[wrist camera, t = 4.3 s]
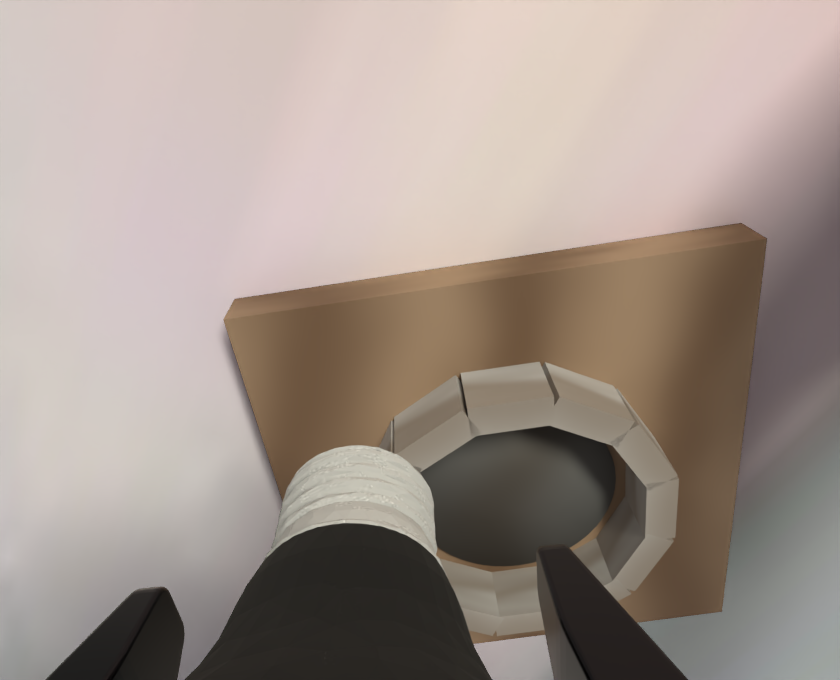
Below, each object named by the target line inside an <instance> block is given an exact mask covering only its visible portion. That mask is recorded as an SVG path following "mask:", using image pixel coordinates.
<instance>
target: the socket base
mask: <svg viewBox="0 0 840 680" xmlns="http://www.w3.org/2000/svg"><path fill="white" fill-rule="evenodd" d="M766 243H767V238H765V237H763V236H762V235H760V234H758V233H757V232H755V231H753V230H752V229H750V228H749V227H747V226H745V225H744V224H742V223H739V224H732V225H725V226H719V227H712V228H705V229H699V230H692V231H685V232H679V233H672V234H665V235H659V236H652V237H645V238H639V239H632V240H625V241H619V242H612V243H605V244H599V245H592V246H585V247H579V248H572V249H565V250H559V251H552V252H545V253H539V254H532V255H525V256H519V257H512V258H505V259H499V260H492V261H485V262H479V263H472V264H465V265H459V266H452V267H445V268H439V269H432V270H425V271H419V272H412V273H405V274H399V275H392V276H385V277H379V278H372V279H365V280H359V281H352V282H345V283H339V284H332V285H325V286H319V287H312V288H305V289H299V290H292V291H285V292H279V293H272V294H265V295H259V296H252V297H245V298H239V299H235V300H234V301H233V303H232V305H231V307H230V309H229V310H228V312H227V314H226V316H225V318H224V323H225V326H226V329H227V332H228V335H229V338H230V341H231V344H232V347H233V351H234V354H235V357H236V360H237V363H238V366H239V369H240V372H241V375H242V378H243V381H244V384H245V387H246V390H247V393H248V397H249V400H250V403H251V406H252V409H253V412H254V415H255V418H256V421H257V424H258V427H259V430H260V433H261V436H262V440H263V443H264V446H265V449H266V452H267V455H268V458H269V461H270V464H271V467H272V470H273V473H274V476H275V479H276V482H277V486H278V489H279V492H280V495H281V498H282V501H283V499H284V496H285V493H286V490H287V487H288V485H289V484H290V482H291V481H292V479H293V477H294V476H295V474H296V472H297V471H298V470H299V469H300V468H301V467H302V466H303V465H304V464H305V463H306V462H308V461H309V460H311V459H312V458H314V457H315V456H317V455H318V454H321V453H323V452H326V451H329V450H331V449H334V448H339V447H345V446H353V445H362V446H372V447H379V448H381V449H384V450H386V451H389V452H392V453H394V454H397V455H399V456H400V457H402V458H403V459H405V460H406V461H408V462H409V463H410V464H411V465H412V466H413V467H414V468H415V469H416V470H417V471H418V472H419V473H420V474H421V475H422V477H423V478H424V480H425V481H426V483H427V484H428V486H429V487H430V489H431V493H432V497H433V501H434V522H435V539H436V544H437V553H436V556H437V557H438V558H439V559H440V561H441V564H442V566H443V568H444V571H445V573H446V575H447V578H448V580H449V582H450V584H451V586H452V588H453V590H454V592H455V594H456V597H457V599H458V601H459V604H460V606H461V609H462V611H463V614H464V617H465V620H466V623H467V626H468V629H469V633H470V636H471V639H472V642H473V644H475V643H483V642H491V641H499V640H506V639H514V638H522V637H529V636H537V635H545V629H544V624H543V619H542V614H541V609H540V603H539V597H538V589H537V563H536V550H537V548H538V547H540V546H545V545H554V544H564V545H566V546H568V547H569V548H570V549H571V550H572V551H573V552H574V554H575V555H576V556H577V557H578V558H579V559H580V560H581V561H582V562H583V564H584V565H585V566H586V567H587V568H588V569H589V570H590V571H591V572H592V574H593V575H594V576H595V577H596V578H597V579H598V580H599V581H600V582H601V584H602V585H603V586H604V587H605V588H606V589H607V590H608V591H609V592H610V594H611V595H612V596H613V597H614V598H615V599H616V600H617V601H618V602H619V604H620V605H621V606H622V607H623V608H624V609H625V610H626V611H627V612H628V614H629V615H630V616H631V617H632V618H633V619H634V620H635V621H636V622H645V621H653V620H660V619H668V618H676V617H683V616H691V615H699V614H706V613H714V612H722V606H723V598H724V589H725V581H726V573H727V565H728V556H729V548H730V540H731V532H732V523H733V515H734V507H735V499H736V490H737V482H738V474H739V466H740V457H741V449H742V441H743V433H744V424H745V416H746V408H747V400H748V391H749V383H750V375H751V366H752V358H753V350H754V342H755V333H756V325H757V317H758V309H759V300H760V292H761V284H762V276H763V267H764V259H765V251H766Z"/></svg>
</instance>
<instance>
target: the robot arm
mask: <svg viewBox="0 0 840 680" xmlns="http://www.w3.org/2000/svg"><path fill="white" fill-rule="evenodd" d="M536 563H537V589H538V597H539V603H540V609H541V614H542V619H543V624H544V629H545V635H546V640H547V645H548V650H549V655H550V661H551V666H552V671H553V676H554V680H688V679H687V678H686V677H685V676H684V675H683V673H682V672H681V671H680V670H679V669H678V668H677V667H676V666H675V665H674V663H673V662H672V661H671V660H670V659H669V658H668V657H667V656H666V655H665V653H664V652H663V651H662V650H661V649H660V648H659V647H658V646H657V645H656V643H655V642H654V641H653V640H652V639H651V638H650V637H649V636H648V635H647V633H646V632H645V631H644V630H643V629H642V628H641V627H640V626H639V625H638V623H637V622H636V621H635V620H634V619H633V618H632V617H631V616H630V615H629V614H628V612H627V611H626V610H625V609H624V608H623V607H622V606H621V605H620V604H619V602H618V601H617V600H616V599H615V598H614V597H613V596H612V595H611V594H610V592H609V591H608V590H607V589H606V588H605V587H604V586H603V585H602V584H601V582H600V581H599V580H598V579H597V578H596V577H595V576H594V575H593V574H592V572H591V571H590V570H589V569H588V568H587V567H586V566H585V565H584V564H583V562H582V561H581V560H580V559H579V558H578V557H577V556H576V555H575V554H574V552H573V551H572V550H571V549H570V548H569V547H568V546H566V545H564V544H554V545H545V546H540V547H538V548H537V550H536ZM183 643H184V626H183V622H182V620H181V617H180V615H179V613H178V611H177V608H176V606H175V604H174V601H173V599H172V597H171V595H170V593H169V591H168V590H167V589H166V588H165V587H151V588H142V589H138V590H136V591H134V592H133V593H131V594H130V595H129V596H128V597H127V598H126V599H125V600H124V601H123V602H122V603H121V604H120V605H119V606H118V607H117V608H116V609H115V610H114V611H113V612H112V613H111V614H110V615H109V616H108V617H107V618H106V619H105V620H104V621H103V622H102V623H101V624H100V625H99V626H98V627H97V628H96V629H95V630H94V631H93V632H92V633H91V634H90V635H89V636H88V637H87V638H86V639H85V640H84V641H83V642H82V643H81V644H80V646H79V647H78V648H77V649H76V650H75V651H74V652H73V653H72V654H71V655H70V656H69V657H68V658H67V659H66V660H65V661H64V662H63V663H62V664H61V665H60V666H59V667H58V668H57V669H56V670H55V671H54V672H53V673H52V674H51V675H50V676H49V677H48V678H47V679H46V680H177V678H178V672H179V666H180V661H181V655H182V649H183Z"/></svg>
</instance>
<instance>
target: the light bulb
mask: <svg viewBox="0 0 840 680" xmlns="http://www.w3.org/2000/svg"><path fill="white" fill-rule="evenodd" d="M436 553H437V544H436V539H435V522H434V501H433V497H432V493H431V489H430V487H429V486H428V484H427V483H426V481H425V480H424V478H423V477H422V475H421V474H420V473H419V472H418V471H417V470H416V469H415V468H414V467H413V466H412V465H411V464H410V463H409V462H408V461H406V460H405V459H403V458H402V457H400V456H399V455H397V454H394V453H392V452H389V451H386V450H384V449H381V448H379V447H372V446H362V445H353V446H345V447H339V448H334V449H331V450H329V451H326V452H323V453H321V454H318V455H317V456H315V457H314V458H312V459H311V460H309V461H308V462H306V463H305V464H304V465H303V466H302V467H301V468H300V469H299V470H298V471H297V472H296V474H295V476H294V477H293V479H292V481H291V482H290V484H289V485H288V487H287V490H286V493H285V496H284V499H283V503H282V509H281V512H280V515H279V523H278V527H277V530H276V533H275V539H274V542H273V545H272V550H271V551H270V552H269V553H268V554H267V556H266V558H265V559H264V561H263V563H262V565H261V566H260V568H259V569H258V570H257V572H256V573H255V575H254V576H253V577H252V579H251V580H250V582H249V583H248V585H247V586H246V588H245V590H244V592H243V594H242V595H241V597H240V599H239V601H238V602H237V604H236V606H235V608H234V610H233V612H232V614H231V616H230V618H229V620H228V622H227V624H226V626H225V628H224V630H223V632H222V634H221V636H220V638H219V640H218V641H217V642H216V644H215V645H214V646H213V648H212V649H211V650H210V652H209V653H208V654H207V656H206V657H205V658H204V660H203V661H202V662H201V664H200V665H199V666H198V667H197V668H196V669H195V670H194V671H193V672H192V673H191V674H190V675H189V676H188V677H187V678H186V679H185V680H492V679H491V677H490V675H489V673H488V672H487V670H486V668H485V666H484V664H483V663H482V661H481V659H480V657H479V655H478V653H477V652H476V650H475V648H474V645H473V642H472V639H471V636H470V633H469V629H468V626H467V623H466V620H465V617H464V614H463V611H462V609H461V606H460V604H459V601H458V599H457V597H456V594H455V592H454V590H453V588H452V586H451V584H450V582H449V580H448V578H447V575H446V573H445V571H444V568H443V566H442V564H441V561H440V559H439V558H438V557H437V556H436Z"/></svg>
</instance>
